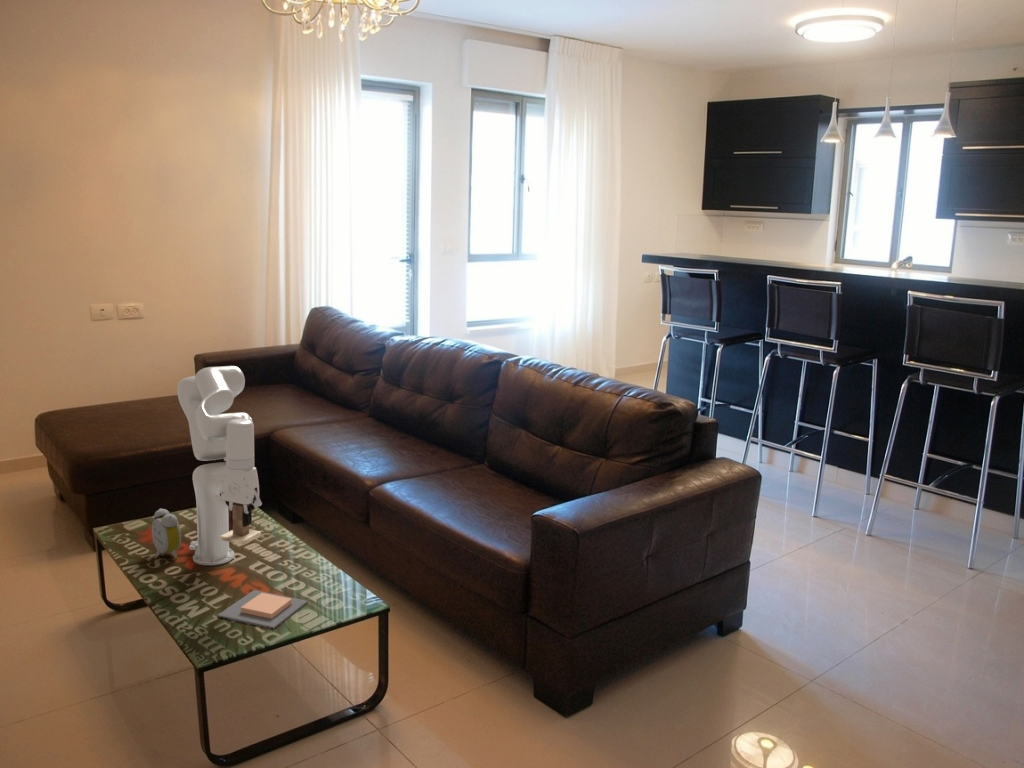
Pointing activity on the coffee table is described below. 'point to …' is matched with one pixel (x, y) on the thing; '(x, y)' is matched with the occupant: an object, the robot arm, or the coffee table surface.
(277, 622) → the mat
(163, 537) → the alarm clock
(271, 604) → the tile
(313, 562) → the coffee table surface
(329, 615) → the coffee table surface
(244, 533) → the square post stand
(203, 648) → the coffee table surface
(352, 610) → the coffee table surface
